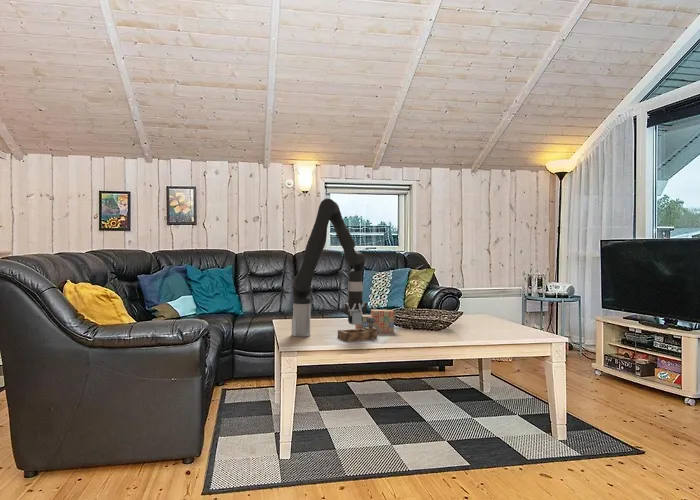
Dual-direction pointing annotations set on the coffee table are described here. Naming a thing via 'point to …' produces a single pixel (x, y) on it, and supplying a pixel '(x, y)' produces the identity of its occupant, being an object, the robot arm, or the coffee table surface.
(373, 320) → the wheel
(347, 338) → the chassis
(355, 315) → the block
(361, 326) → the stack of blocks
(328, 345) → the coffee table surface
